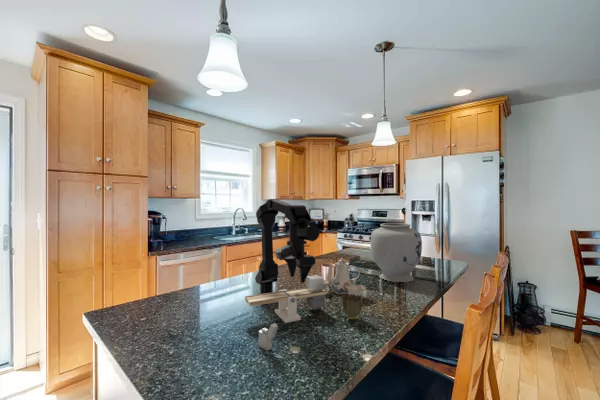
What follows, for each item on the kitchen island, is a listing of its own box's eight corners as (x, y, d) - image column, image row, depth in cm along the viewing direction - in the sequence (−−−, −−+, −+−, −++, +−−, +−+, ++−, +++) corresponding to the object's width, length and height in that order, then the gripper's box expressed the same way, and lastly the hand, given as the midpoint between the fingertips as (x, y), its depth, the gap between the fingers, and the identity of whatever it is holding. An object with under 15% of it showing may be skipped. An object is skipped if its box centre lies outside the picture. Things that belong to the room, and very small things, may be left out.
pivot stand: (274, 311, 111) (274, 290, 111) (288, 309, 113) (288, 288, 113) (285, 323, 100) (285, 299, 100) (301, 320, 103) (300, 296, 103)
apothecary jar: (431, 285, 143) (430, 225, 144) (377, 285, 144) (377, 225, 144) (411, 272, 170) (410, 221, 170) (366, 272, 171) (365, 222, 171)
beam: (245, 313, 104) (244, 296, 104) (318, 301, 116) (318, 285, 116) (250, 321, 97) (250, 302, 97) (327, 307, 110) (327, 290, 110)
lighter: (258, 345, 84) (258, 318, 85) (263, 343, 86) (262, 316, 86) (273, 354, 79) (273, 325, 80) (278, 352, 81) (278, 323, 81)
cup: (363, 324, 99) (362, 300, 99) (341, 322, 100) (341, 299, 100) (362, 315, 106) (362, 294, 106) (342, 314, 107) (342, 292, 108)
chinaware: (305, 298, 130) (303, 263, 129) (317, 285, 145) (316, 253, 144) (367, 307, 119) (366, 268, 118) (373, 291, 134) (373, 256, 133)
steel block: (305, 289, 113) (305, 276, 113) (317, 287, 115) (317, 274, 115) (311, 292, 108) (311, 279, 108) (323, 290, 110) (323, 277, 110)
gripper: (268, 236, 113) (268, 276, 113) (287, 242, 97) (287, 289, 97) (294, 235, 118) (294, 273, 118) (316, 240, 101) (316, 284, 101)
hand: (297, 279), depth 108 cm, fingers open, 9 cm apart
